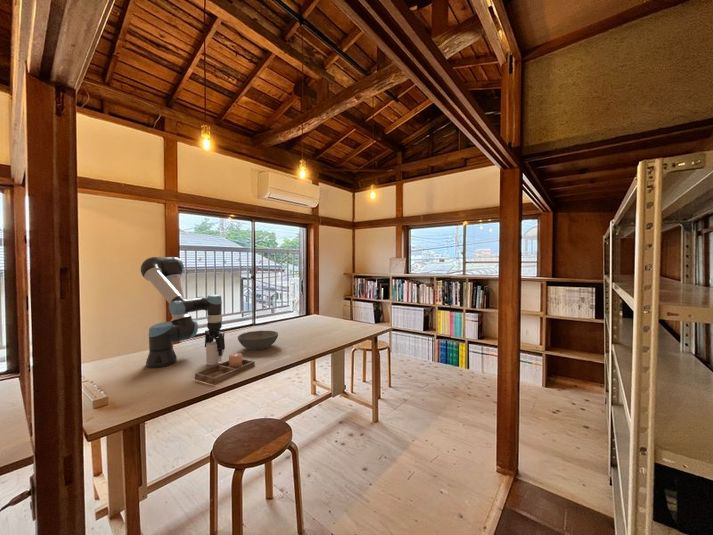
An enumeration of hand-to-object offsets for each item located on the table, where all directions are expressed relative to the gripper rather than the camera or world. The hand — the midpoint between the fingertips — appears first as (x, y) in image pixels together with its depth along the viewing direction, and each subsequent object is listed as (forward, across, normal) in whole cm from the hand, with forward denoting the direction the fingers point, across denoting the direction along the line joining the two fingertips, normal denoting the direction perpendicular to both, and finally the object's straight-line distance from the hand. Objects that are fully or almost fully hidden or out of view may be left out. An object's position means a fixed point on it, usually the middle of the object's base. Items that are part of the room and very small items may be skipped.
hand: (214, 360), depth 172 cm
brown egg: (+1, +17, 0) cm, 17 cm away
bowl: (+2, +2, +33) cm, 33 cm away
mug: (+2, 0, 0) cm, 2 cm away
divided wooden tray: (+2, +17, -6) cm, 18 cm away
